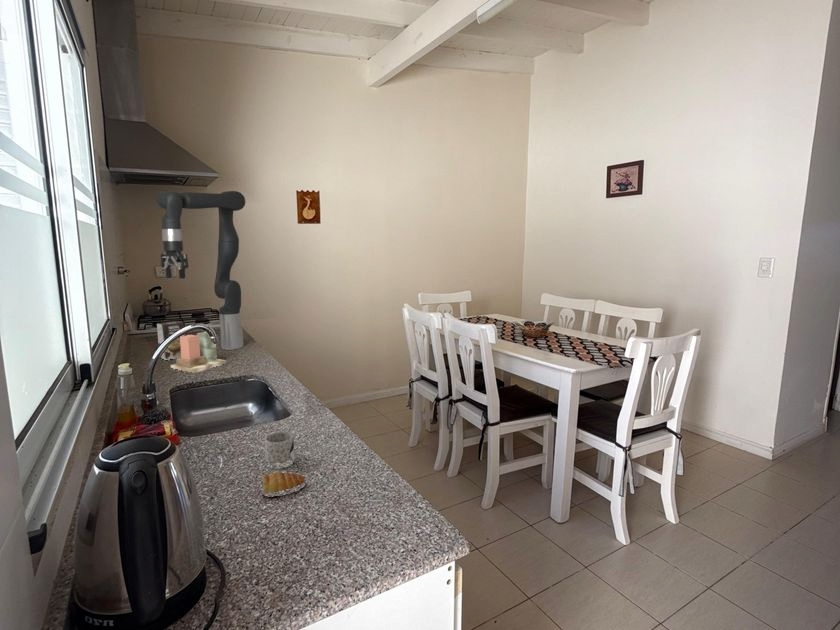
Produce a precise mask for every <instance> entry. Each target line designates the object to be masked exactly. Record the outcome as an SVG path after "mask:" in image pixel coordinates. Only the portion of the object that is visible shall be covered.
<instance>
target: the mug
mask: <svg viewBox="0 0 840 630" xmlns="http://www.w3.org/2000/svg"><path fill="white" fill-rule="evenodd" d="M294 438H295V437H294V434H293V433H292V432H289V431H276V432H272V433H270V434H267V435H266V436H265V437H264V448H265V452H264V453H265V461H266V460H267V461H268V462H270V463H283V462H287V461H289V460H291V459H292V458H293V457H294V458H295V441H294V440H295V439H294Z"/></svg>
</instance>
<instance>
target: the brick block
mask: <svg viewBox="0 0 840 630" xmlns="http://www.w3.org/2000/svg"><path fill="white" fill-rule="evenodd" d="M180 346H181V358H183V359H189V360H191V359H194V358H198V357H200V346H199V336H197V334H195V335H194V334H188V335H184V336H181V337H180Z"/></svg>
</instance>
